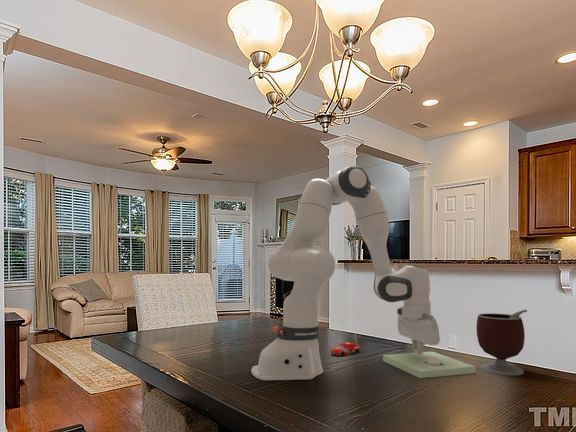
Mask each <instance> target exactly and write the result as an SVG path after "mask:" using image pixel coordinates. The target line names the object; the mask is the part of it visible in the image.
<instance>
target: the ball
mask: <svg viewBox="0 0 576 432" xmlns="http://www.w3.org/2000/svg"><path fill="white" fill-rule="evenodd" d="M427 364H429V365H431V366H437V365H440V361H439V359H438V358H436V357H430V358H428V360H427Z"/></svg>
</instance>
